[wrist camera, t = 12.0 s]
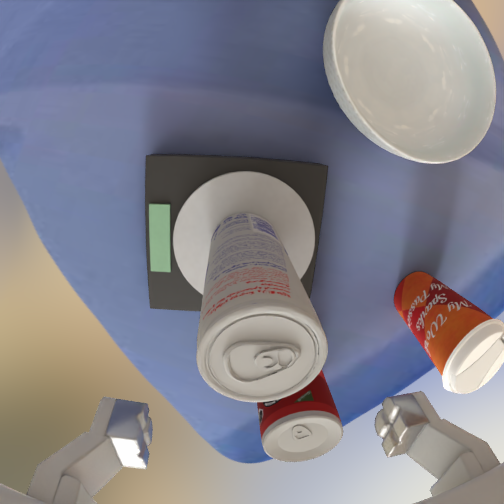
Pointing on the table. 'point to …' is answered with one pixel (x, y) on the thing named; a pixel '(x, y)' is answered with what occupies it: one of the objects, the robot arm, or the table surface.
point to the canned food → (300, 423)
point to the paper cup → (451, 332)
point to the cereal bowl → (411, 76)
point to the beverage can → (256, 316)
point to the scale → (224, 216)
